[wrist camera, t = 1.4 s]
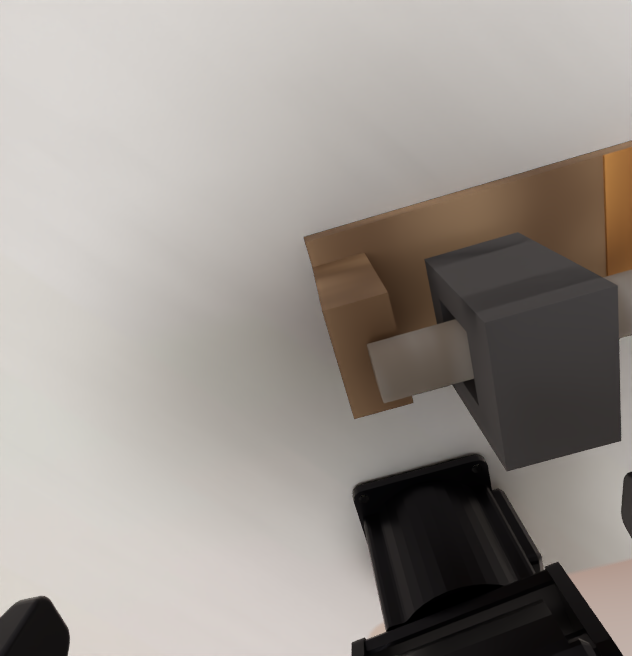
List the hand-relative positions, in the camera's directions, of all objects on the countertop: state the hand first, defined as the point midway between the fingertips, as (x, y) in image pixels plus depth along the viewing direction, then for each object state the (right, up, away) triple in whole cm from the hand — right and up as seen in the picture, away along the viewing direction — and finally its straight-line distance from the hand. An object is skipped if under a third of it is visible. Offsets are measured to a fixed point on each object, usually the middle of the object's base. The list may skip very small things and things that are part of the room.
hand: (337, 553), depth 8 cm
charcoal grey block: (+5, +4, +9) cm, 11 cm away
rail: (+8, +6, +12) cm, 16 cm away
